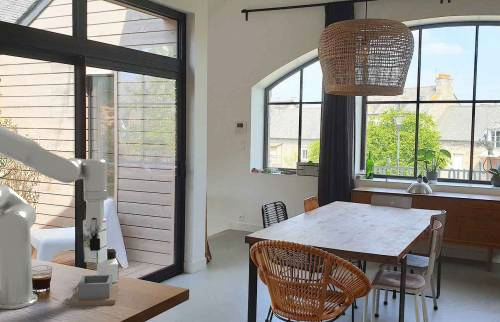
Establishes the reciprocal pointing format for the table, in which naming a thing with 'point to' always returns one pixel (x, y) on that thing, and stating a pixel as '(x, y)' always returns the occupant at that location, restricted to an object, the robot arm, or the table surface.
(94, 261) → the syrup box
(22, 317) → the table surface
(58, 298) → the table surface
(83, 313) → the table surface
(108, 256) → the medicine bottle
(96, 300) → the socket
